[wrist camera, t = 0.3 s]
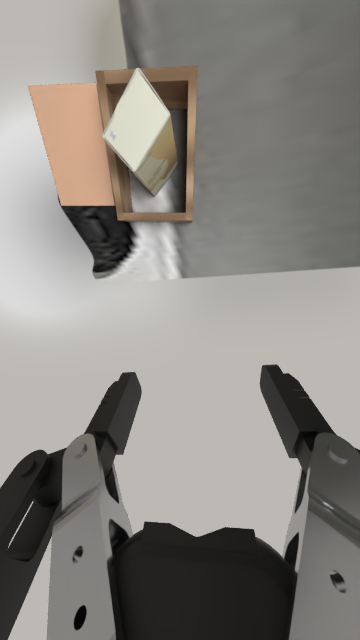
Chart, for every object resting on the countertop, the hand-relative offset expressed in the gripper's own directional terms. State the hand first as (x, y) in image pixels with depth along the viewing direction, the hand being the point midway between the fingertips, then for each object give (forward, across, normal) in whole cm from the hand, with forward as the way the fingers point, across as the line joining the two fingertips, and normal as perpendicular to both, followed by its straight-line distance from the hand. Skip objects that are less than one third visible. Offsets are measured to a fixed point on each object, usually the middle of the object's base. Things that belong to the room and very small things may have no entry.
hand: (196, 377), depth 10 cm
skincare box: (+28, +4, -18) cm, 34 cm away
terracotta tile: (+28, +17, -22) cm, 39 cm away
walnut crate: (+28, +4, -18) cm, 33 cm away
